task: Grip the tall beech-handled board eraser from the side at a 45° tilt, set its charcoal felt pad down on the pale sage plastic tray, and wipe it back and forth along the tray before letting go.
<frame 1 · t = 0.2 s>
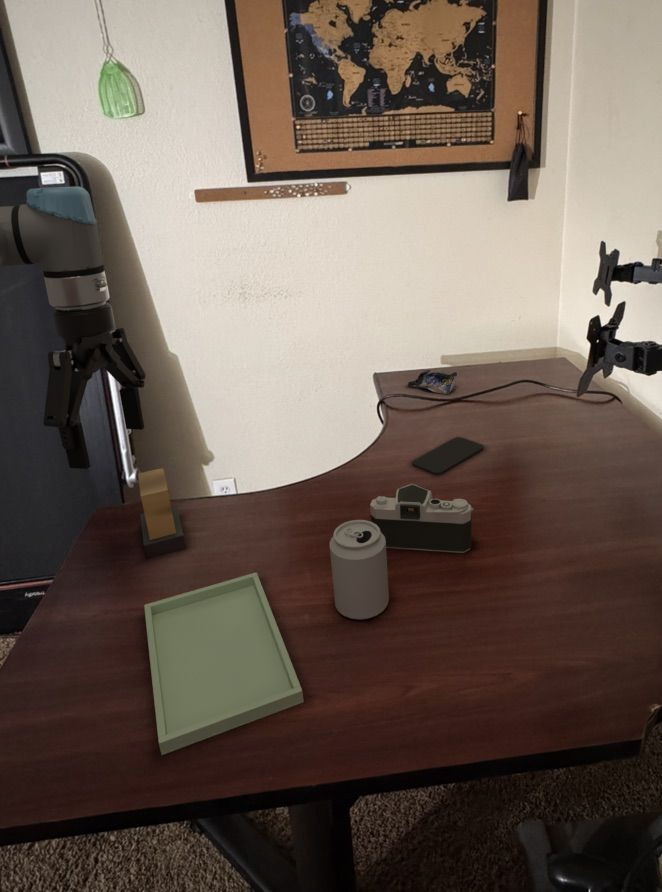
hand: (109, 446, 93), 20 cm above the table, tool pointing down, fingers open, 13 cm apart
snack package: (431, 389, 162), on the table
camera: (423, 539, 101), on the table
phone: (448, 458, 126), on the table
can: (362, 606, 87), on the table
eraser: (164, 539, 104), on the table
tray: (218, 656, 79), on the table
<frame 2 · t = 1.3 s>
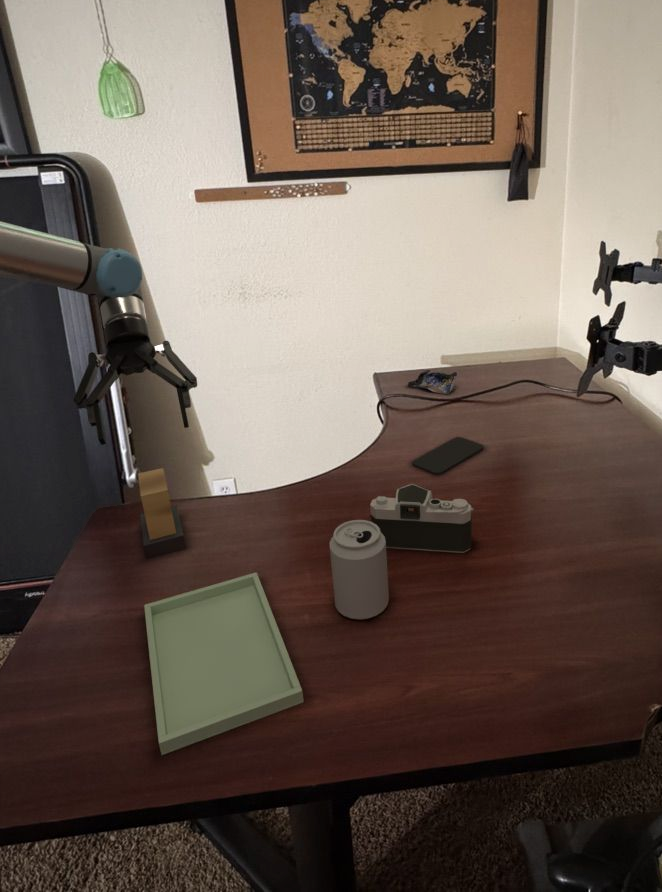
hand: (145, 433, 107), 15 cm above the table, tool tilted 45°, fingers open, 13 cm apart
nothing on the table moved.
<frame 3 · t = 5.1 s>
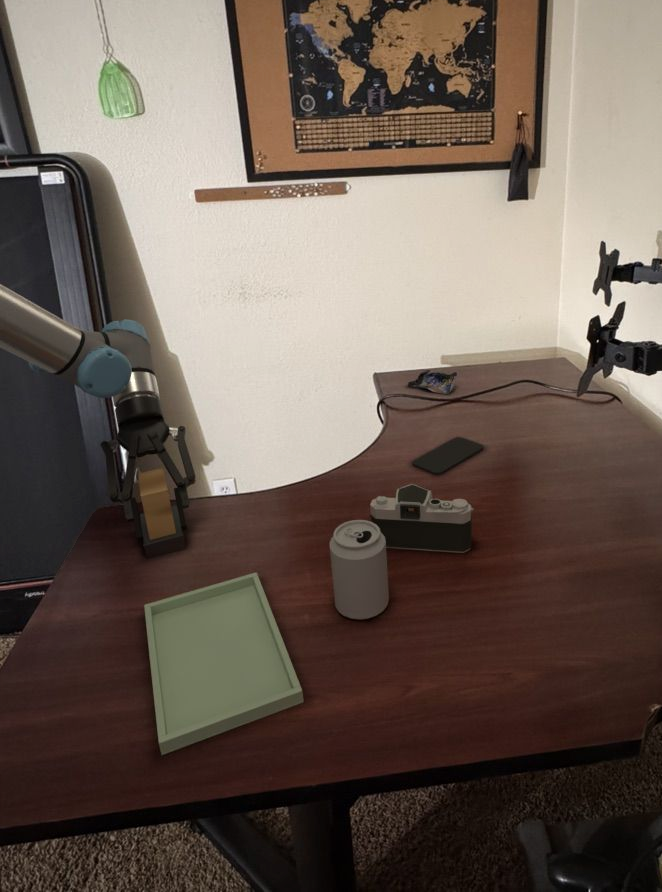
hand: (162, 533, 100), 3 cm above the table, tool tilted 45°, fingers closed on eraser, 6 cm apart
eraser: (164, 539, 104), on the table, touching gripper
everything else where it was.
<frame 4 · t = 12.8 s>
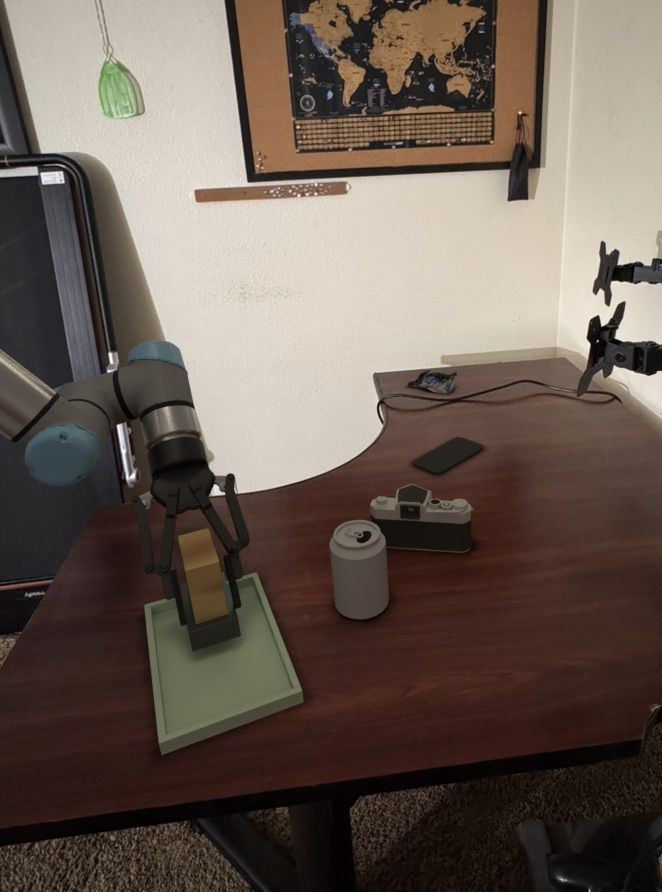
hand: (211, 615, 78), 6 cm above the table, tool tilted 45°, fingers closed on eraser, 6 cm apart
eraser: (210, 618, 83), point 2 cm above the table, touching gripper
everything else where it was.
when the fingers open (4 cm above the table, at t = 20.5 s): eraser stays where it is, resting on tray.
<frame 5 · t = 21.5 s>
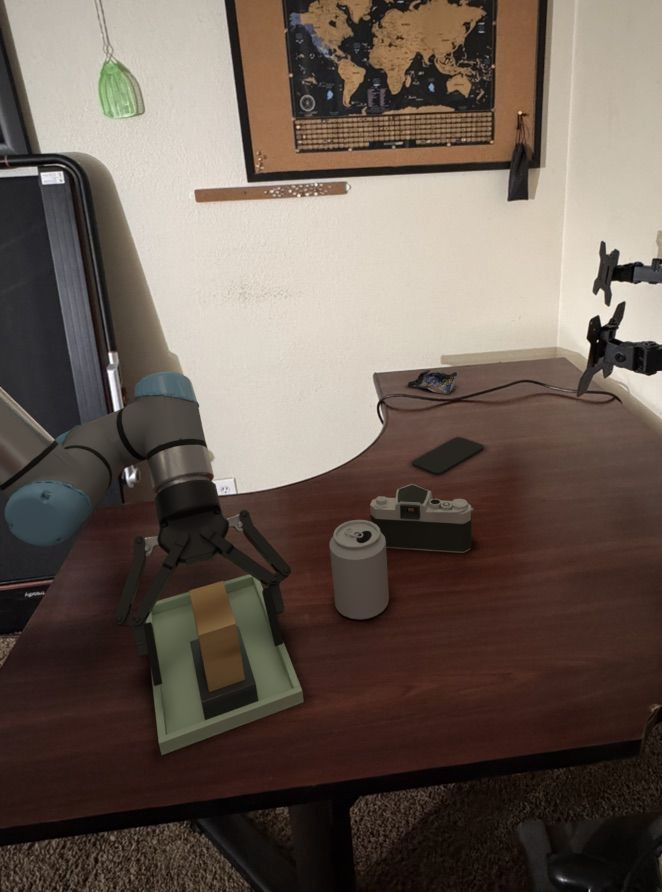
hand: (220, 664, 71), 5 cm above the table, tool tilted 45°, fingers open, 13 cm apart
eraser: (224, 680, 75), point 1 cm above the table, touching tray
everything else where it was.
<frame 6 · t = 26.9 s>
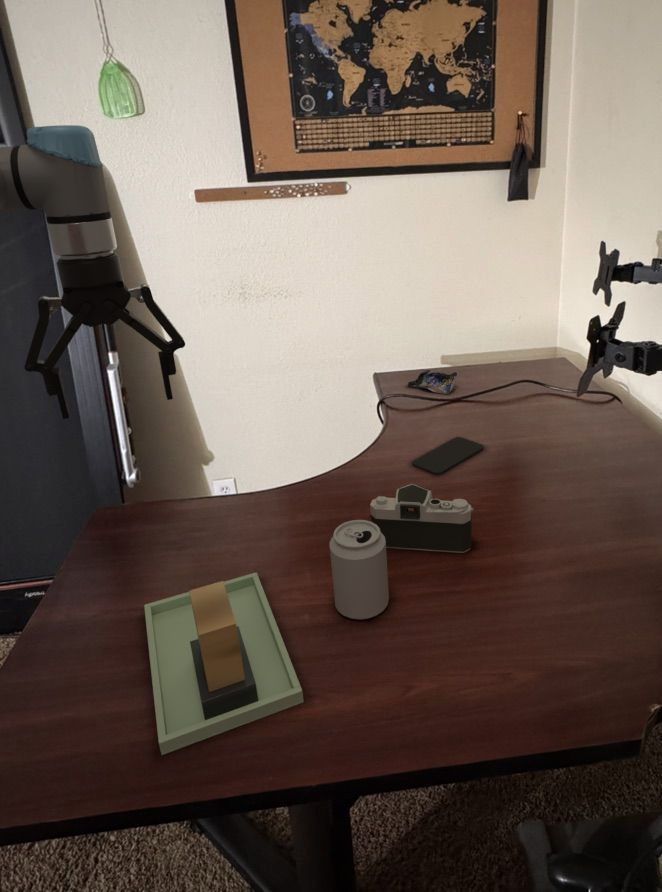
hand: (119, 405, 89), 27 cm above the table, tool pointing down, fingers open, 13 cm apart
nothing on the table moved.
at the end: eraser touching tray; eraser 4.9 cm from the tray (horizontally); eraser tilted 0° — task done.
